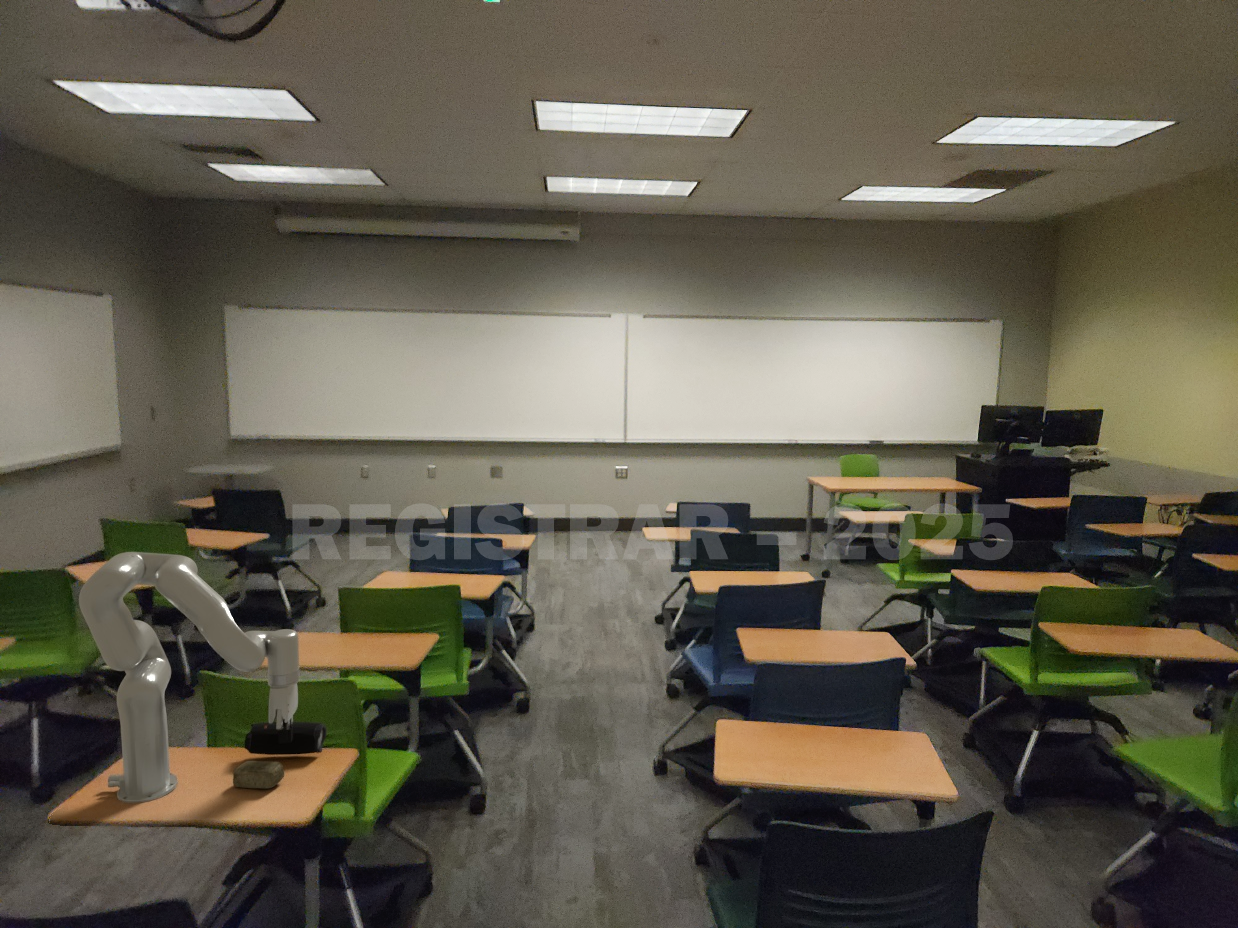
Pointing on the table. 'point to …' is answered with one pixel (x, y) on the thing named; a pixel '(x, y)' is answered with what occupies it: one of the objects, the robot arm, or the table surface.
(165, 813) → the table surface
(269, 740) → the portable speaker
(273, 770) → the stone block
